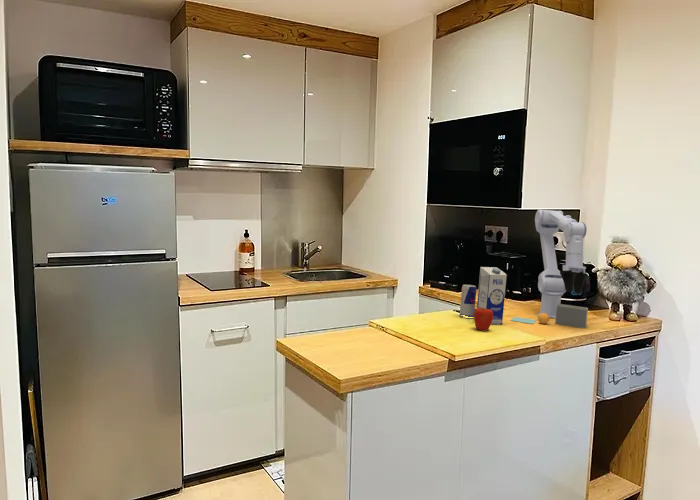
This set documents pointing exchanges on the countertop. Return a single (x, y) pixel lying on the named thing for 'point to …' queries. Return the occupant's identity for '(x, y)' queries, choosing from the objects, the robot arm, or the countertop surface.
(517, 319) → the tape square
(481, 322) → the apple
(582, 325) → the grey rectangular box
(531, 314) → the countertop surface
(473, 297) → the energy drink
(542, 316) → the ball
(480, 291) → the milk carton
